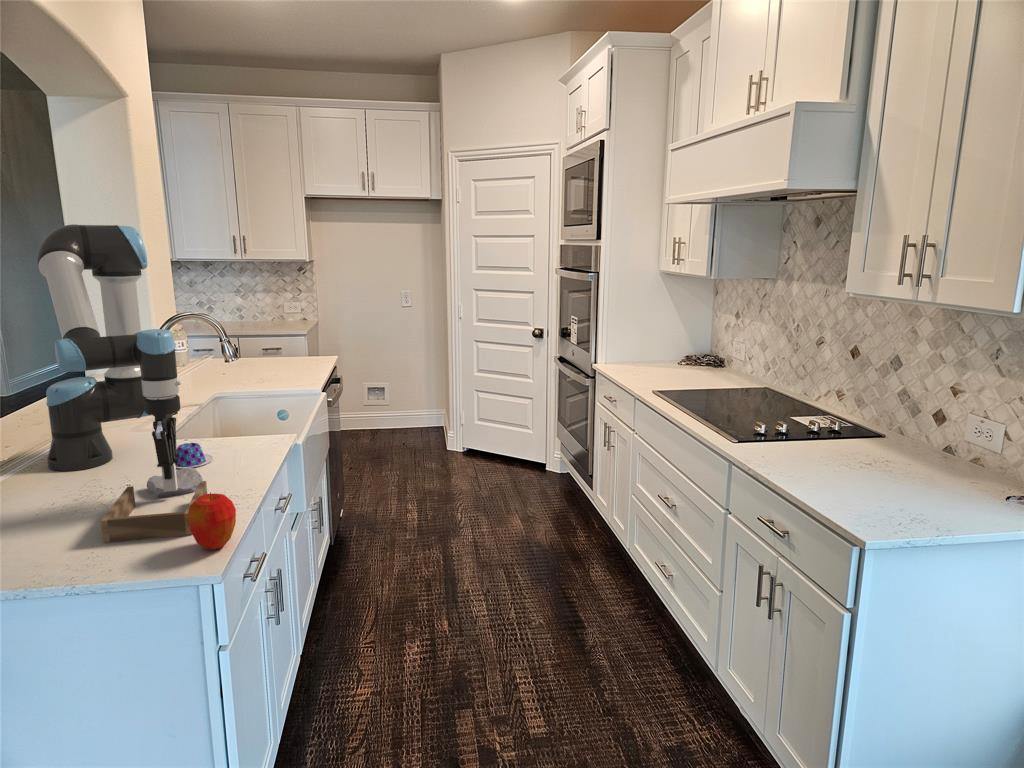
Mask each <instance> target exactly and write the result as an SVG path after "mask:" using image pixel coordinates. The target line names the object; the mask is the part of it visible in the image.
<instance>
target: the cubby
mask: <svg viewBox="0 0 1024 768" xmlns="http://www.w3.org/2000/svg"><path fill="white" fill-rule="evenodd" d="M205 494H208V485H207V480H203V481H201V482H200V484H199V486H198V488H197V490H196V492H194V494H193V496H192V498H191V500H190V501H189V504H188V505H187V508H186V509H185V511H180V512H179V511H177V512H165V513H154V514H142V515H141V514H140V515H131V514H132V512H133V511H134V509H135V507H136V498H135V490H134V486H131V485H129V486H127V487H126V488H125V489H124V490H123V492H122V493H121V494H120V495H119V497H118V498H117V499H116V500H115V502H114V503H113V505H112V506H111V507H110V508H109V509H108V511H107V512H105V515H103V517H102V518H101V520H100V527H101V534H102V543H103V544H106V543H117V542H118V543H119V542H127V541H129V542H131V541H139V540H140V541H141V540H152V539H161V538H162V539H163V538H173V537H182V536H183V537H185V536H193V535H192V533H191V531H190V527H189V523H188V519H187V516H188V512H189V508H190V505H191V504H192V503H193V502H194V501H195V500H196V499H197V498H199V497H200V496H202V495H205Z"/></svg>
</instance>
